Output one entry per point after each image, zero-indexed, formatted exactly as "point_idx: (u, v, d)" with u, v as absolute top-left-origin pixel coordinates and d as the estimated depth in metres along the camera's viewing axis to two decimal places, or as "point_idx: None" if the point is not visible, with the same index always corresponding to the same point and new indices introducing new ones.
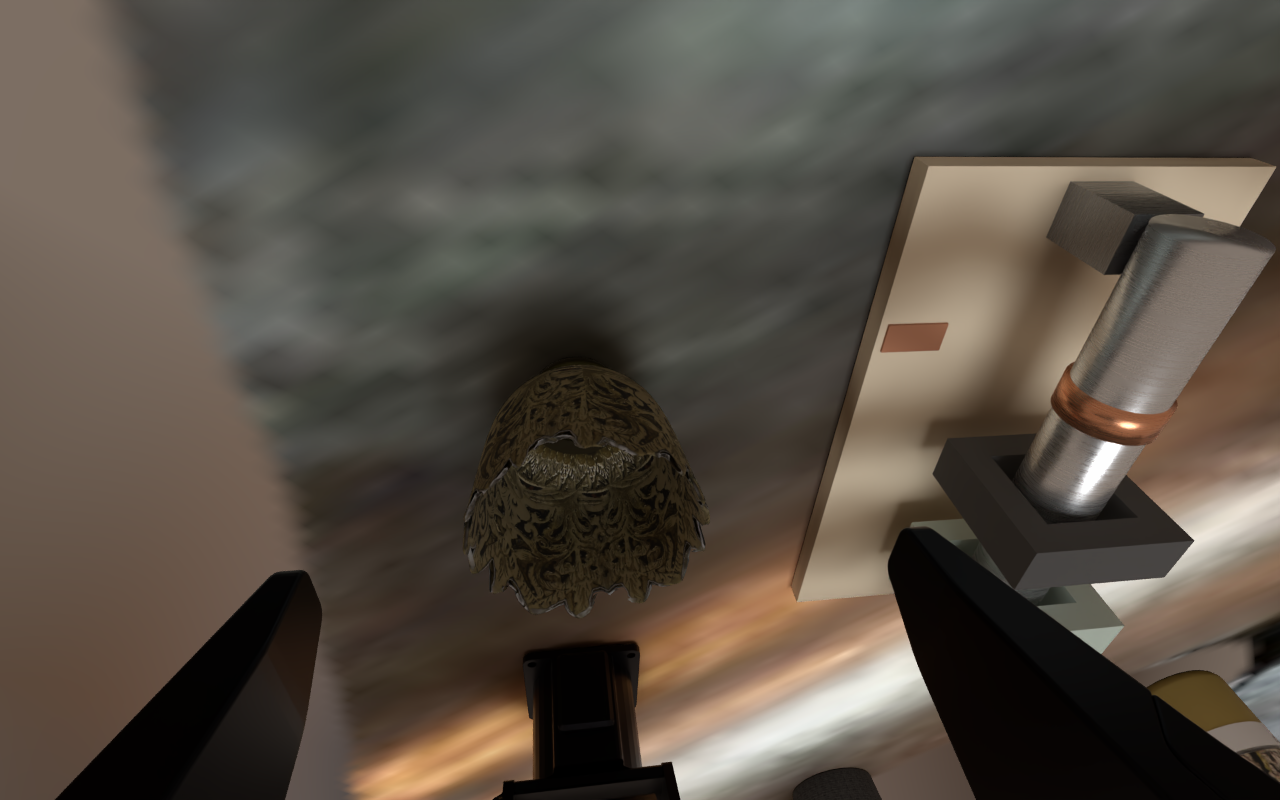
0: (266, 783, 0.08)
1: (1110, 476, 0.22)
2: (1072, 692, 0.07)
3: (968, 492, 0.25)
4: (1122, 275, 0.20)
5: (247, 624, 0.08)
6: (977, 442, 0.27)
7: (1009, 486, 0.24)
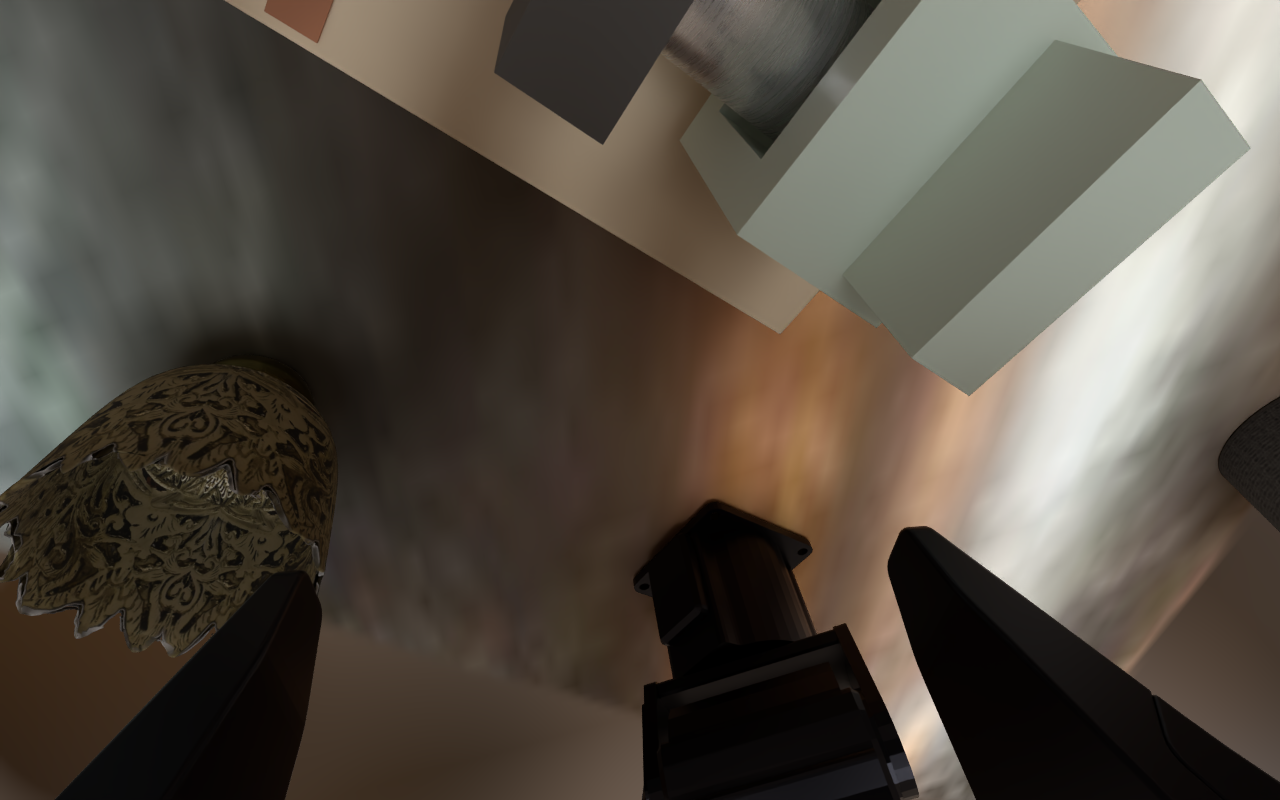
0: (266, 783, 0.08)
1: None
2: (1072, 692, 0.07)
3: None
4: None
5: (247, 624, 0.08)
6: None
7: None
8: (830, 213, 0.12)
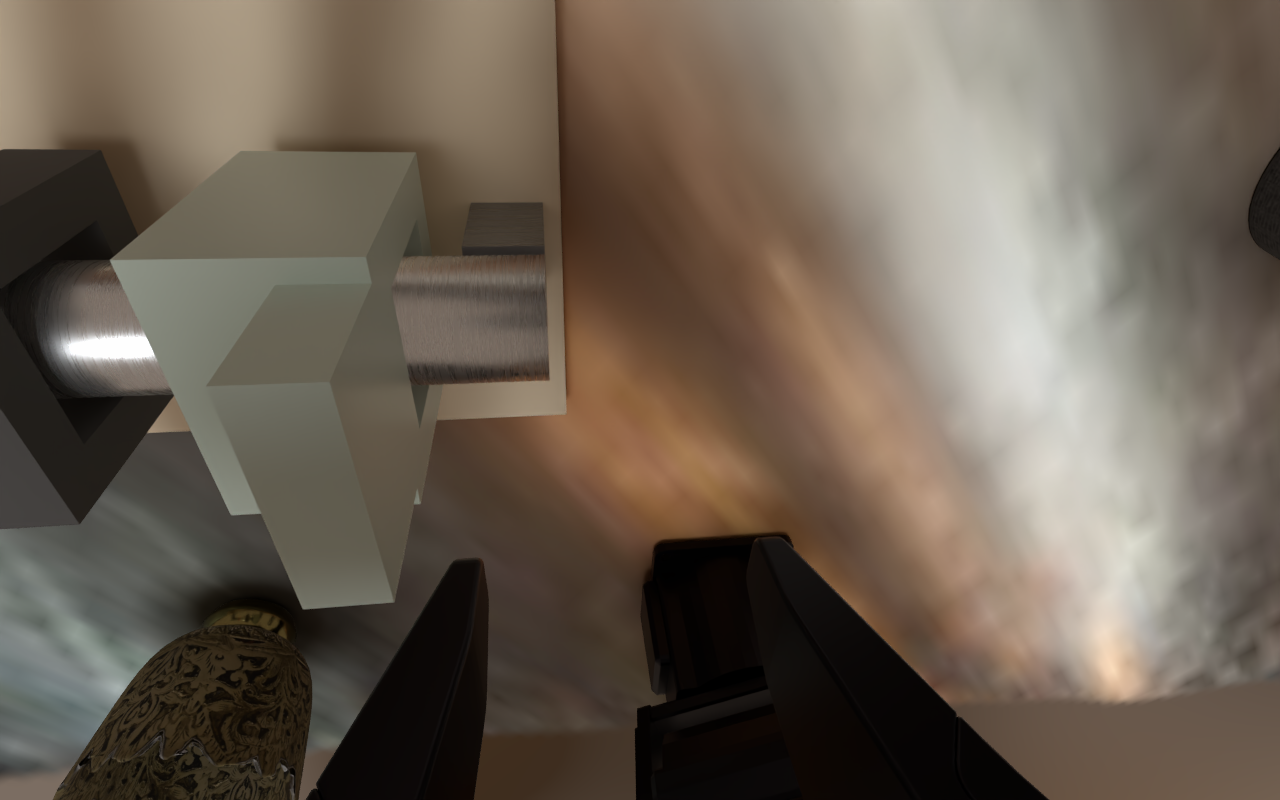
0: (470, 760, 0.08)
1: None
2: (873, 714, 0.07)
3: None
4: None
5: (447, 608, 0.08)
6: None
7: None
8: None
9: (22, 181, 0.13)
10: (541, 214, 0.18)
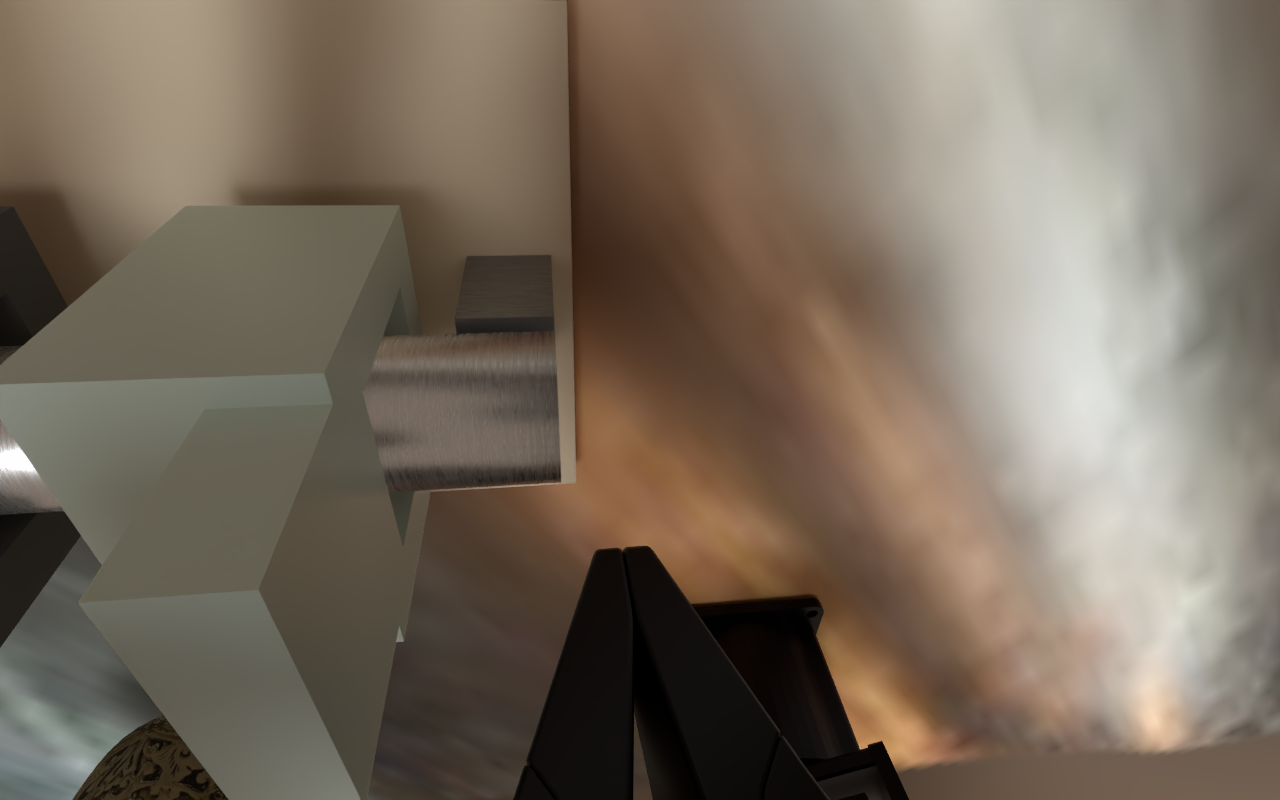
0: None
1: None
2: (692, 734, 0.07)
3: None
4: None
5: (605, 595, 0.09)
6: None
7: None
8: None
9: None
10: (549, 271, 0.15)
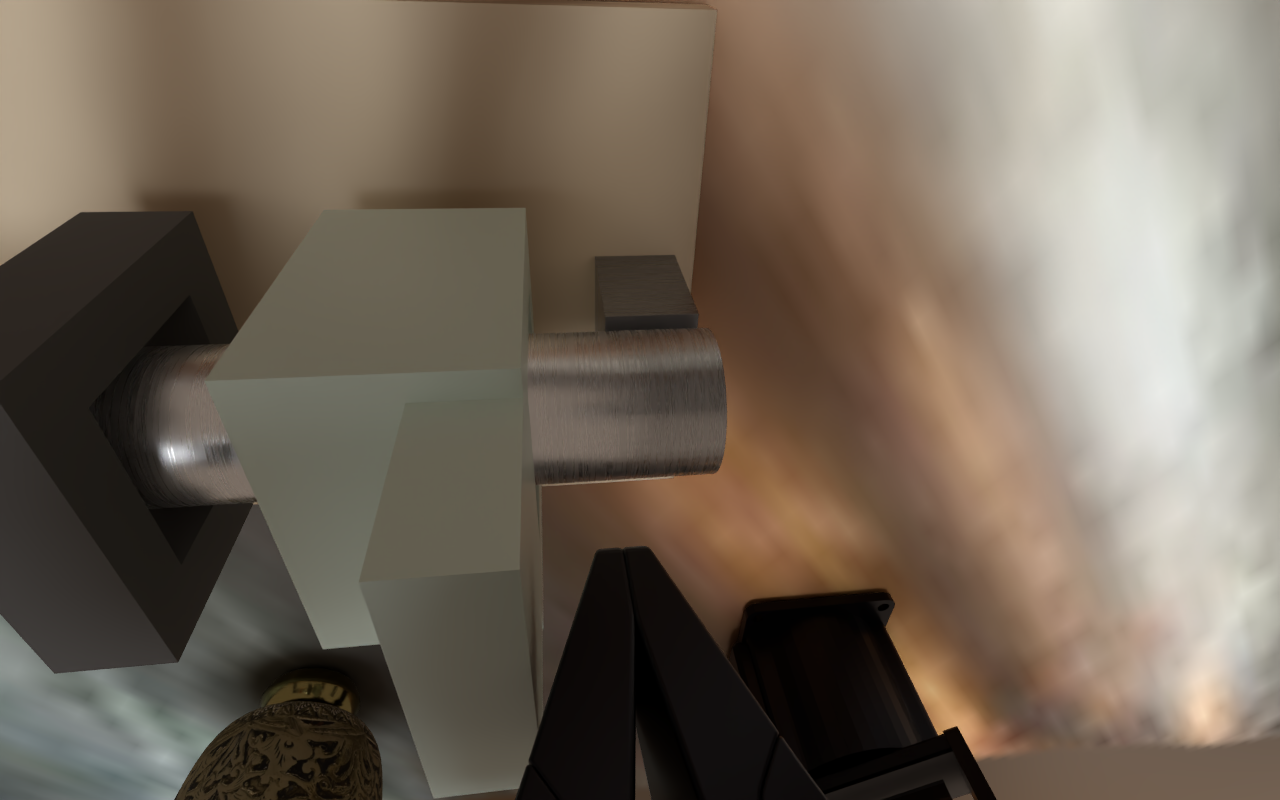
0: None
1: None
2: (691, 734, 0.07)
3: None
4: None
5: (606, 595, 0.09)
6: None
7: None
8: None
9: (114, 259, 0.11)
10: (679, 270, 0.16)
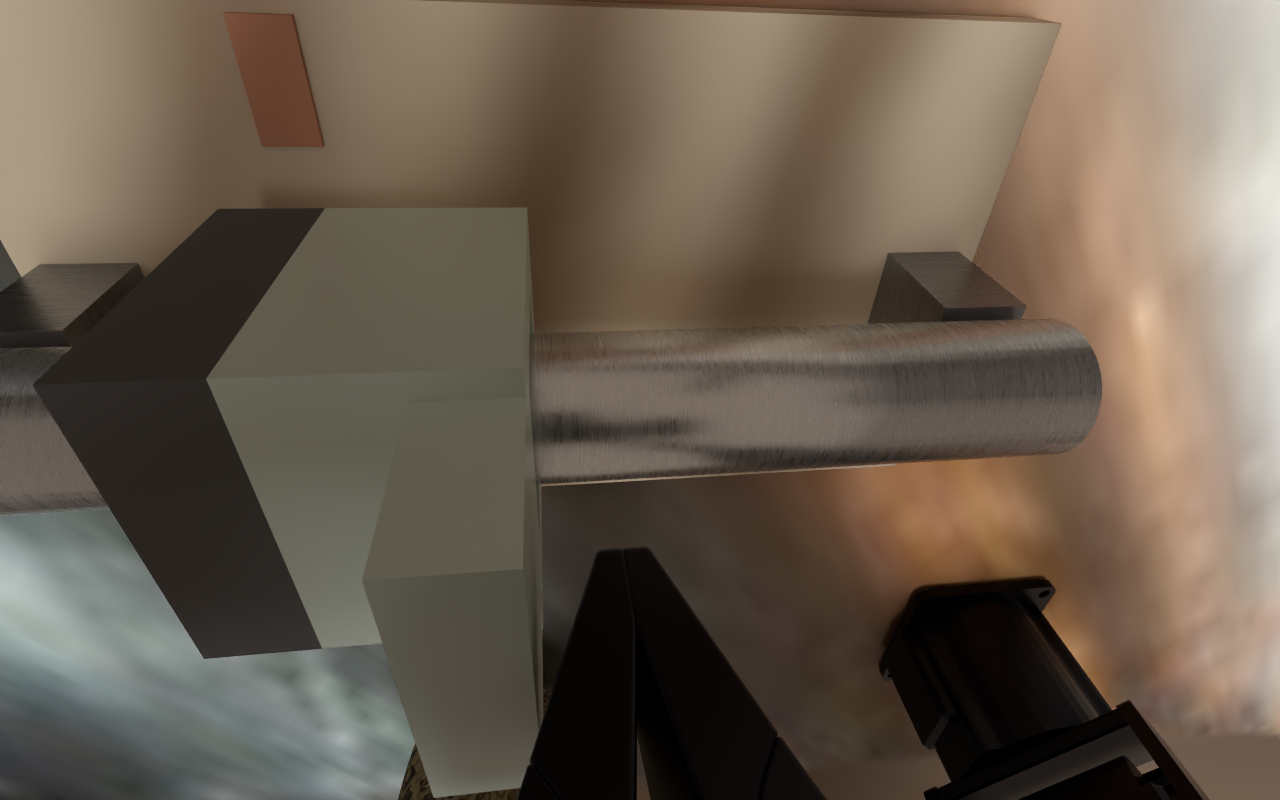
0: None
1: None
2: (689, 734, 0.07)
3: None
4: None
5: (607, 595, 0.09)
6: None
7: None
8: None
9: (269, 254, 0.11)
10: (975, 266, 0.17)
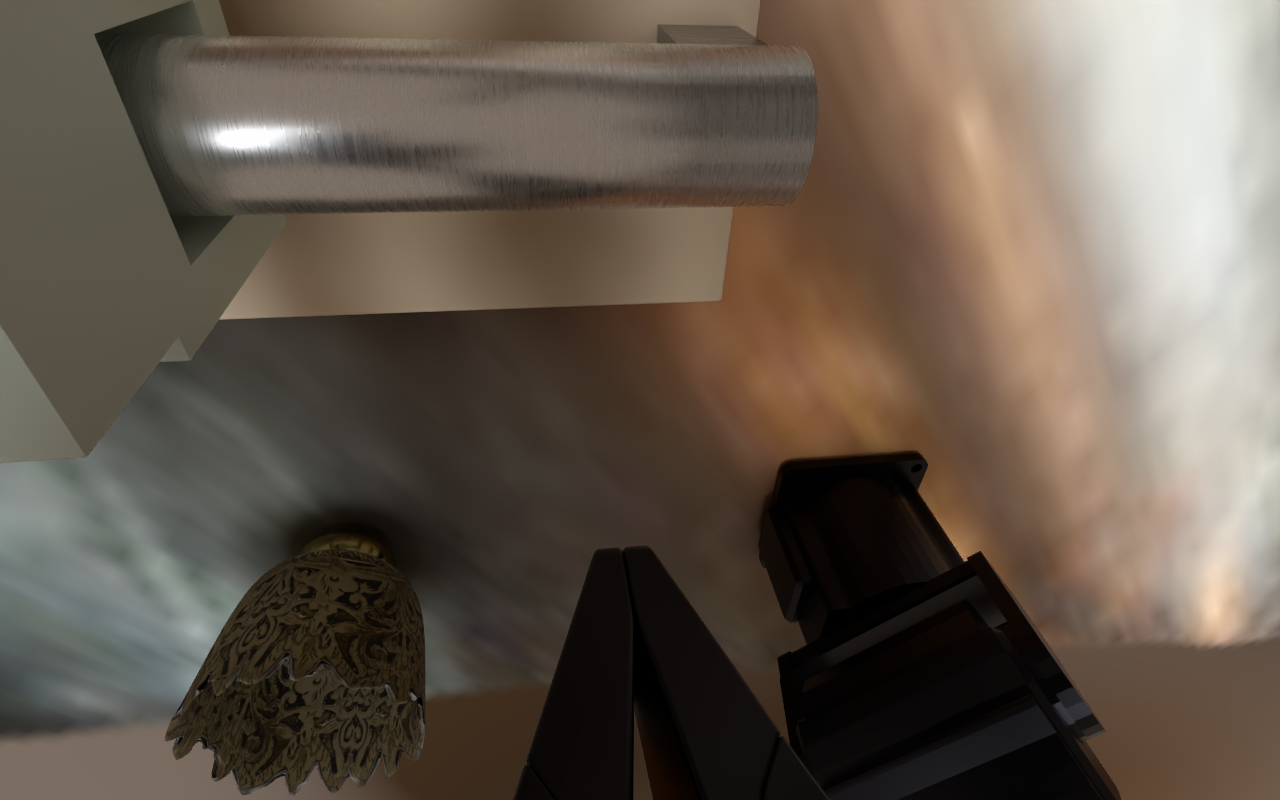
0: None
1: None
2: (692, 734, 0.07)
3: None
4: None
5: (604, 595, 0.09)
6: None
7: None
8: None
9: None
10: (745, 32, 0.15)
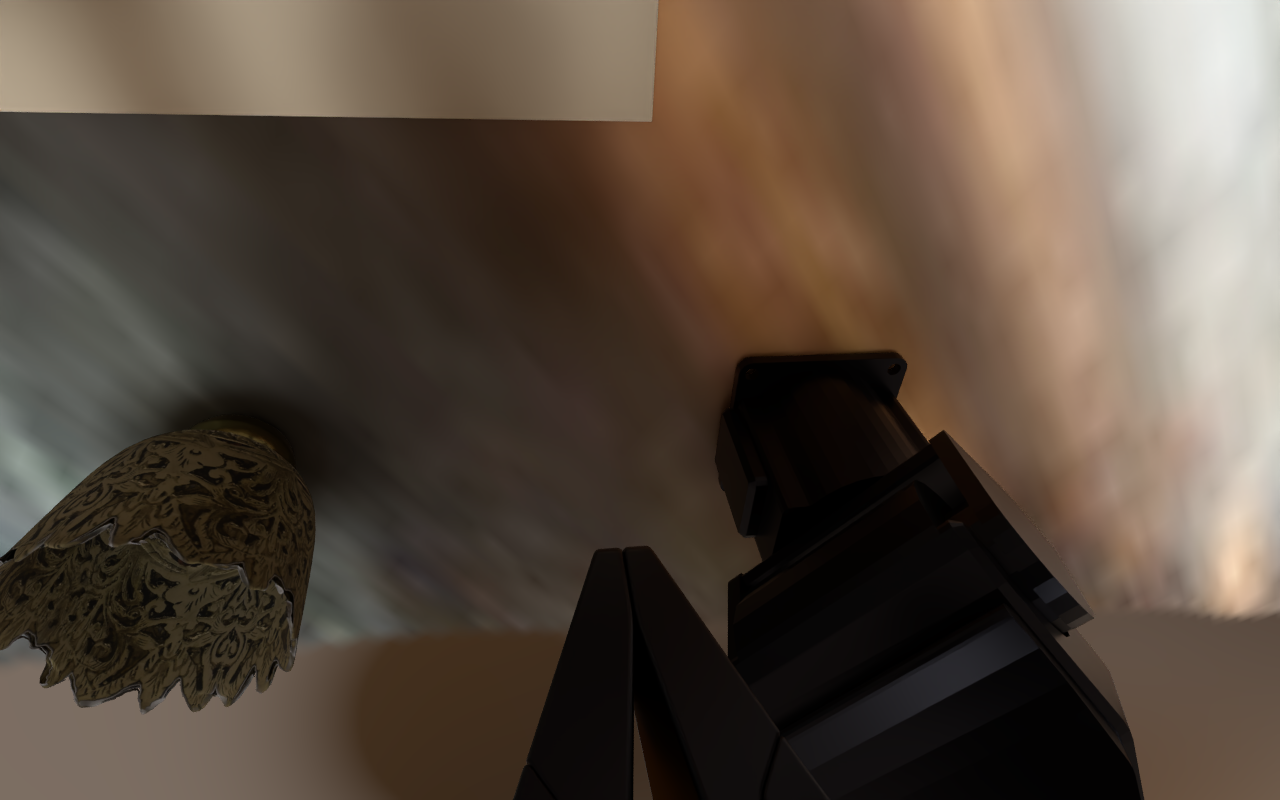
0: None
1: None
2: (692, 734, 0.07)
3: None
4: None
5: (605, 595, 0.09)
6: None
7: None
8: None
9: None
10: None
